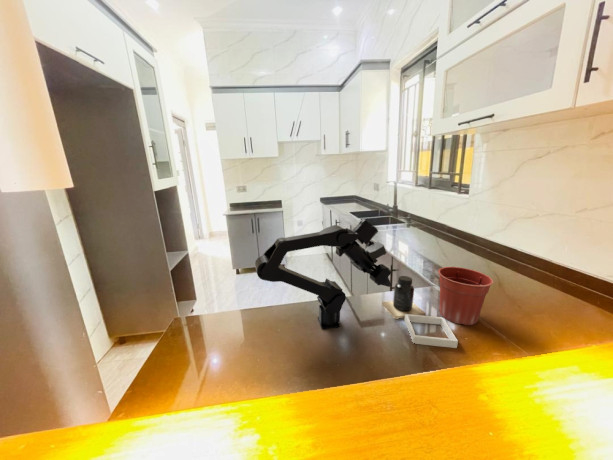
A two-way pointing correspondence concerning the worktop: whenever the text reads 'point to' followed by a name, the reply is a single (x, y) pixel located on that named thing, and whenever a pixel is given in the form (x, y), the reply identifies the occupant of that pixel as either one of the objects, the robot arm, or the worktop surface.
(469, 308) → the flower pot
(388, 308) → the birch board
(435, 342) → the frame
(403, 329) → the worktop surface
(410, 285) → the supplement bottle
